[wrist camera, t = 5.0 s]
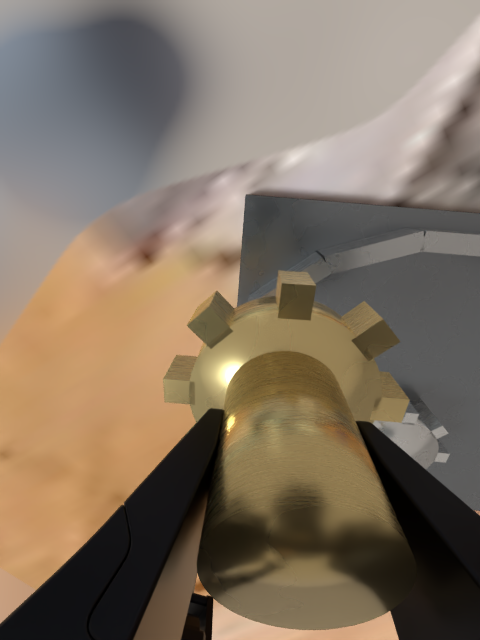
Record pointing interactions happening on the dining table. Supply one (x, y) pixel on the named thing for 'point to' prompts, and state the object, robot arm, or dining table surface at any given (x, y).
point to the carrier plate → (392, 308)
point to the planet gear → (295, 459)
